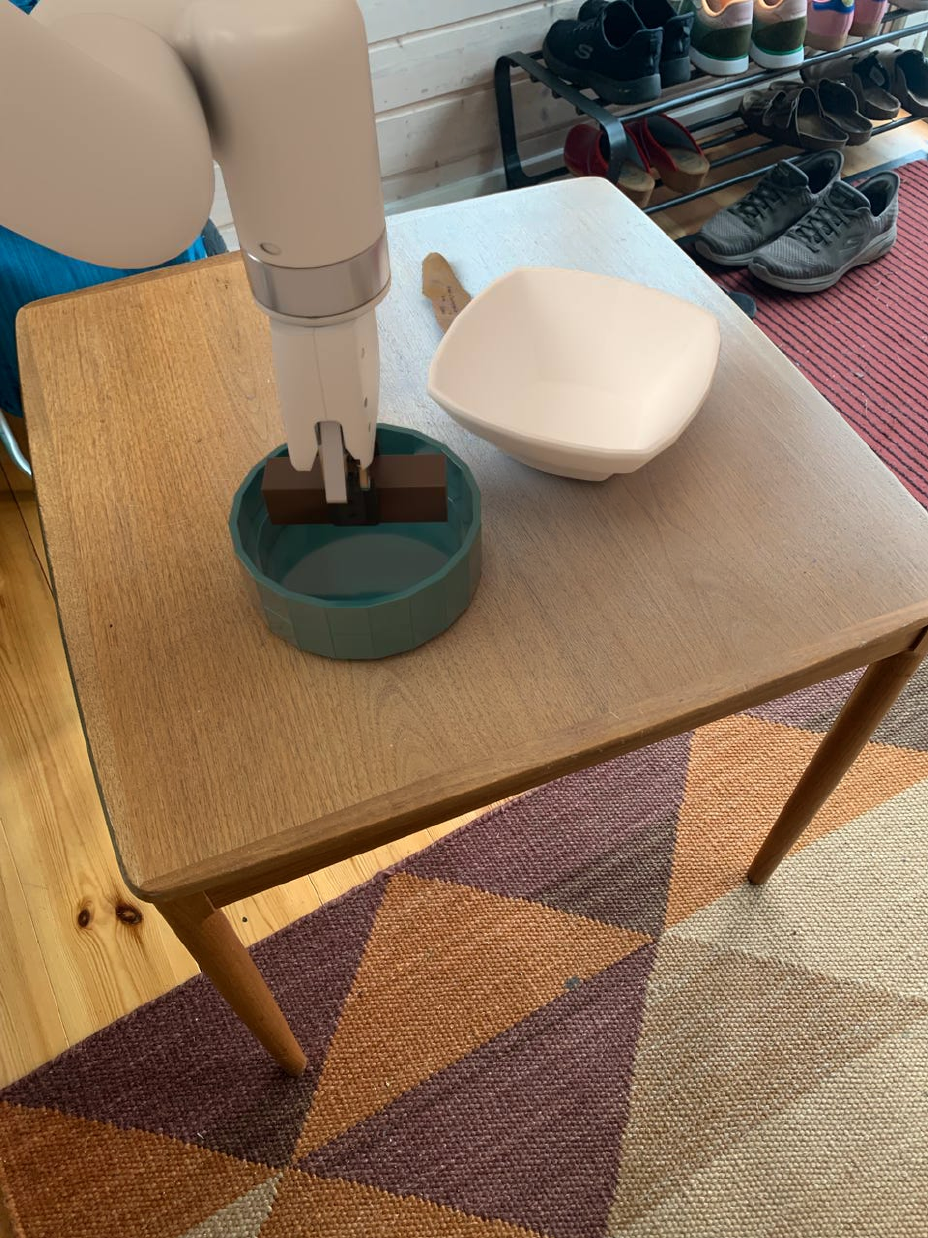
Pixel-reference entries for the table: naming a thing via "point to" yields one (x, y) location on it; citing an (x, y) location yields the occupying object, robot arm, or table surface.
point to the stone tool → (443, 290)
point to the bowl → (576, 369)
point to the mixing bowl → (361, 565)
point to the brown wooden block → (401, 484)
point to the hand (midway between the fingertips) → (358, 500)
